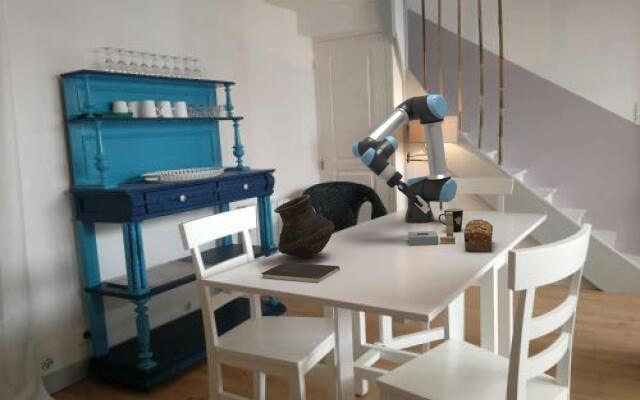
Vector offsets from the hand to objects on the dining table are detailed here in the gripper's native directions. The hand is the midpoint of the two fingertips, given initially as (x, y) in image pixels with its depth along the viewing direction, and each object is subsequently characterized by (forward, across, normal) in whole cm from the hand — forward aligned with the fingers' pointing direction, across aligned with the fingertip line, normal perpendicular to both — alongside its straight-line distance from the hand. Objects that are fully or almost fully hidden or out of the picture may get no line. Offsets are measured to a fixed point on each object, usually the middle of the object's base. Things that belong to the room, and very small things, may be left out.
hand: (427, 209), depth 228 cm
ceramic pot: (-25, +28, -45) cm, 58 cm away
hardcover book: (-23, +53, -44) cm, 72 cm away
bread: (+23, +19, +4) cm, 30 cm away
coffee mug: (+17, -16, -1) cm, 23 cm away
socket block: (+8, +6, -11) cm, 15 cm away
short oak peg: (+15, +10, -4) cm, 19 cm away
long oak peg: (+16, -1, -3) cm, 16 cm away
